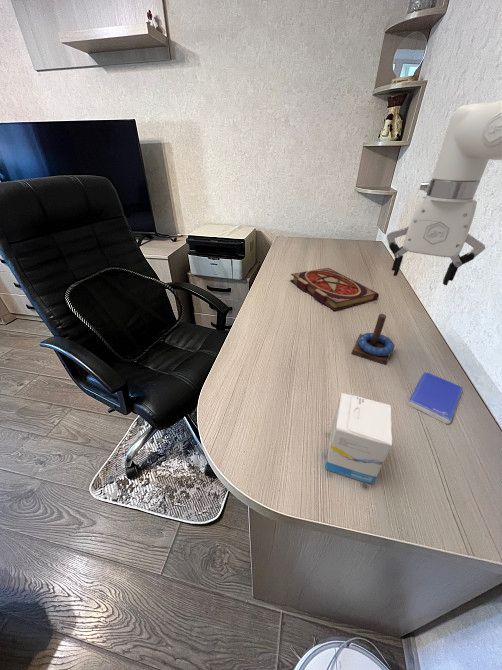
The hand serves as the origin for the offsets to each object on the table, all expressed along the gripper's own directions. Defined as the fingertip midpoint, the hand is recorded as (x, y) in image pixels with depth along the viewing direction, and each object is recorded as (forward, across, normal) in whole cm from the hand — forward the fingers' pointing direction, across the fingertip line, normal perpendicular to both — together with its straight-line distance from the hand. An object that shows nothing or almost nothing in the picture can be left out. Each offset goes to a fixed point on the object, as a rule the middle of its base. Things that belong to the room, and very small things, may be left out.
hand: (419, 278), depth 61 cm
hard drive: (+24, +11, -8) cm, 28 cm away
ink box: (+24, -2, -33) cm, 41 cm away
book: (+24, -27, +35) cm, 50 cm away
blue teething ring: (+21, -4, +3) cm, 22 cm away
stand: (+24, -5, +3) cm, 24 cm away
